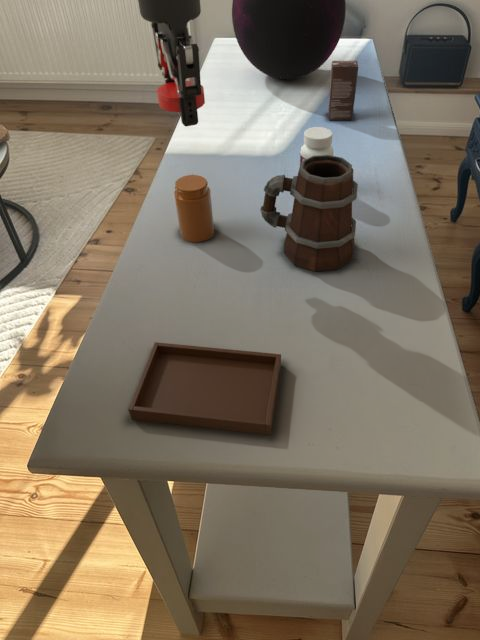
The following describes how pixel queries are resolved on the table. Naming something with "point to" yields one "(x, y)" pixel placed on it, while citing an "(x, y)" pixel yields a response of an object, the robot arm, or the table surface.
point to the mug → (316, 212)
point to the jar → (194, 208)
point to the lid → (175, 97)
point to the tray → (208, 388)
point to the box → (342, 90)
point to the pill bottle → (316, 143)
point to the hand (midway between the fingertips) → (183, 114)
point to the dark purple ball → (288, 34)
